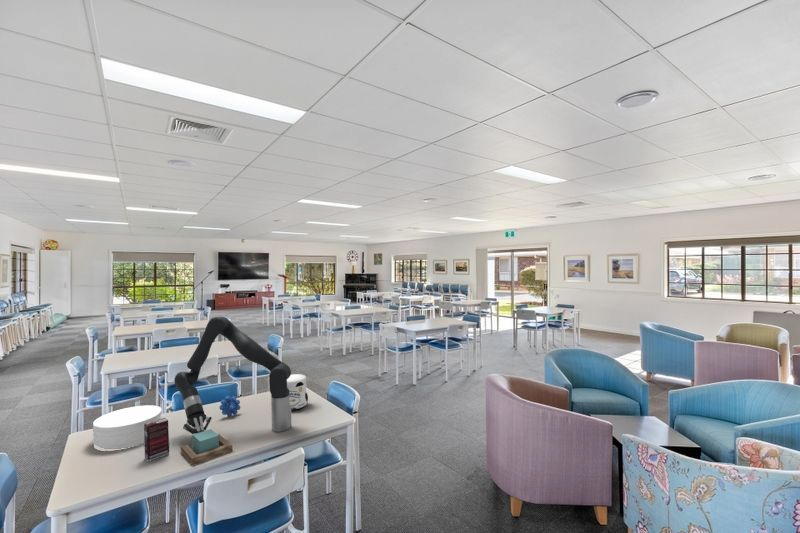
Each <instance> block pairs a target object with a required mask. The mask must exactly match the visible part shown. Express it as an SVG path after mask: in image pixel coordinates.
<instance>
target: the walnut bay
mask: <svg viewBox="0 0 800 533" xmlns="http://www.w3.org/2000/svg"><path fill="white" fill-rule="evenodd" d="M217 434H218V435H219V447H217V448H214V449H212V450H209V451H206V452H203V453H200V454H197V455H196V453H195V452H194V451H193V448H191V447H190V445H188V444H183V445H181V446H180V454H181V455H182V456H183V457H184V459H186V461H187V462H188V463H189V462H190V463H191V464H190V463H189V464H190V465H191V466H192V465H193V466H196V465H199V464H200V463H204V462H207V461H209V460H213V459H215V458H218V457H220V456H224V455H227V454H229V453H231V452H233V444H232V443H231V442H230V441H229V440H227V439H226V438H225V437H223V436H222V435H221V434H219V433H217ZM195 464H196V465H195Z"/></svg>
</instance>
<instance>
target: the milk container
mask: <svg viewBox="0 0 800 533" xmlns="http://www.w3.org/2000/svg"><path fill="white" fill-rule="evenodd" d="M287 388H288V389H289V397H290V409H291V411H296V410H300V409H302V408H304V407H306V405H308V401H309V394H308V392H307V377H306V375H304V374H300V373H299V374H298V373H297V374H295V373H294V374H293V373H292V374H291V375H290V377H289V378H288V379H287Z"/></svg>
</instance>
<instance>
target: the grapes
mask: <svg viewBox="0 0 800 533" xmlns="http://www.w3.org/2000/svg"><path fill="white" fill-rule="evenodd" d="M240 403H241V401H240V399H237V397H236V396H234V395H233V396H230V395H227V396H225V398H224V399H222V400H220V404H221V405H220V406H219V410H221V414H222V415H223V416H224V415H226V416H227V417H230V418H231V417H232V416H233V415H234V416H235V415H237V414H238V411H239V410H240V409H241V405H240Z"/></svg>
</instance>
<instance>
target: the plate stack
mask: <svg viewBox="0 0 800 533" xmlns="http://www.w3.org/2000/svg"><path fill="white" fill-rule="evenodd" d="M162 416H163V415H162V407H161V406H158V405H145V404H144V405H136V406H135V405H134V406H130V407H124V408H121V409H117V410H114V411H113V410H112V411H111V412H108V413H105V414H103V415H101V416H99V417H98V418H96V419H95V420H93V423H92V427H93V428H92V432H93V434H92V436H93V440H92V442H93V444H95V445H96V446H98V447H100V448H104V449H121V448H128V447H132V446H136V447H138V446H137V445H139V446H141V445H140V444H142V445H144V444H143V443H144V424H145V423H149V422H152V421H156V420H159V419H163V418H162Z"/></svg>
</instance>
